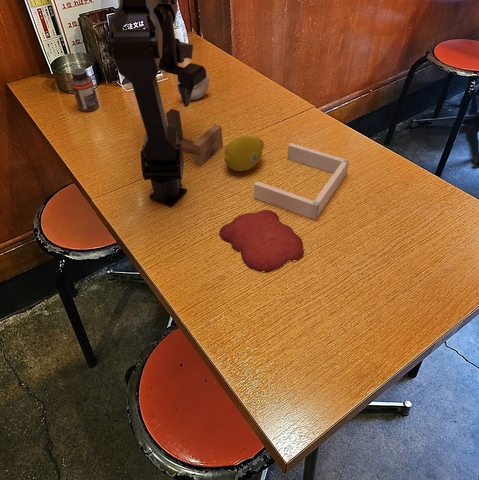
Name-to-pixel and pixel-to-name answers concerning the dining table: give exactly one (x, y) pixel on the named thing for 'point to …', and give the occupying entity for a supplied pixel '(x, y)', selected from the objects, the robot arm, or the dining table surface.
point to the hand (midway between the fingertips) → (171, 101)
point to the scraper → (203, 145)
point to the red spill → (263, 240)
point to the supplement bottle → (84, 90)
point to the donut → (199, 88)
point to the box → (298, 202)
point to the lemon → (243, 153)
